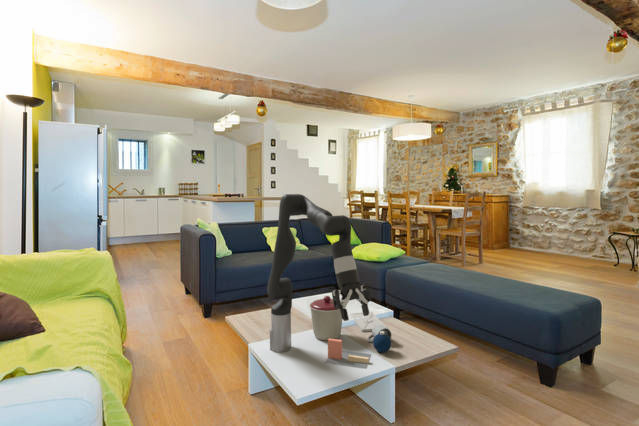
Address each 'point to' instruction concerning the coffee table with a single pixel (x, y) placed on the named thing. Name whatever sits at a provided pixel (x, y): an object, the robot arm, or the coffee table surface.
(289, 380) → the coffee table surface
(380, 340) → the christmas ornament
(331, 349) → the box
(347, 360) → the mat
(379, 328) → the ceramic mug
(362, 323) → the envelope
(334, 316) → the canister
